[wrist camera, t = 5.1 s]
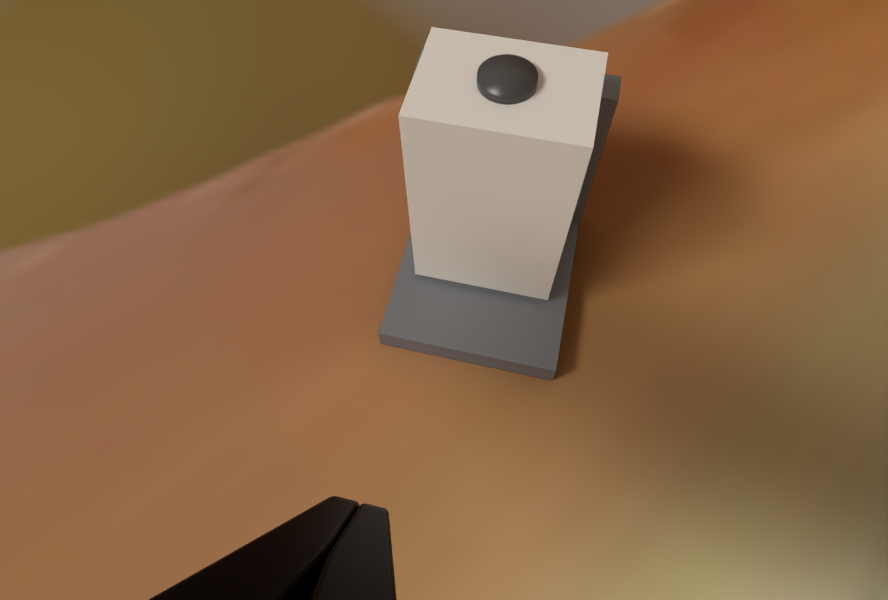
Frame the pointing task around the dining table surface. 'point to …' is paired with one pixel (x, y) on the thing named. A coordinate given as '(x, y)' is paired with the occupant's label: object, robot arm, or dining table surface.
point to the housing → (492, 299)
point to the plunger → (497, 156)
